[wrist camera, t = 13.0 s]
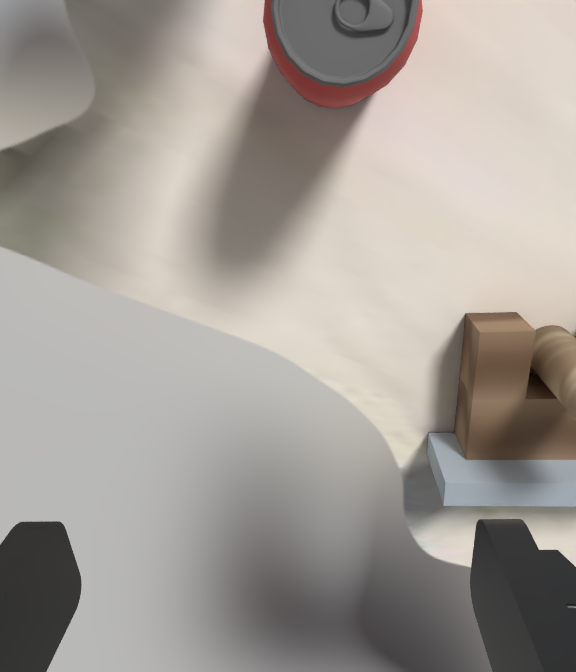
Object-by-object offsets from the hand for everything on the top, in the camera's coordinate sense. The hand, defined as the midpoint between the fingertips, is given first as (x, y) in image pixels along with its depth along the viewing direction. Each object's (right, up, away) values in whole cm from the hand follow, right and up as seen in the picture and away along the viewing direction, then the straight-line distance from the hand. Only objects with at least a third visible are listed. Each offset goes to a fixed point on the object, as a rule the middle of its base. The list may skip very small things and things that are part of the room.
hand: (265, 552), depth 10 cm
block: (+19, +1, +27) cm, 34 cm away
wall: (+20, -4, +30) cm, 36 cm away
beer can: (+3, +21, +20) cm, 30 cm away
